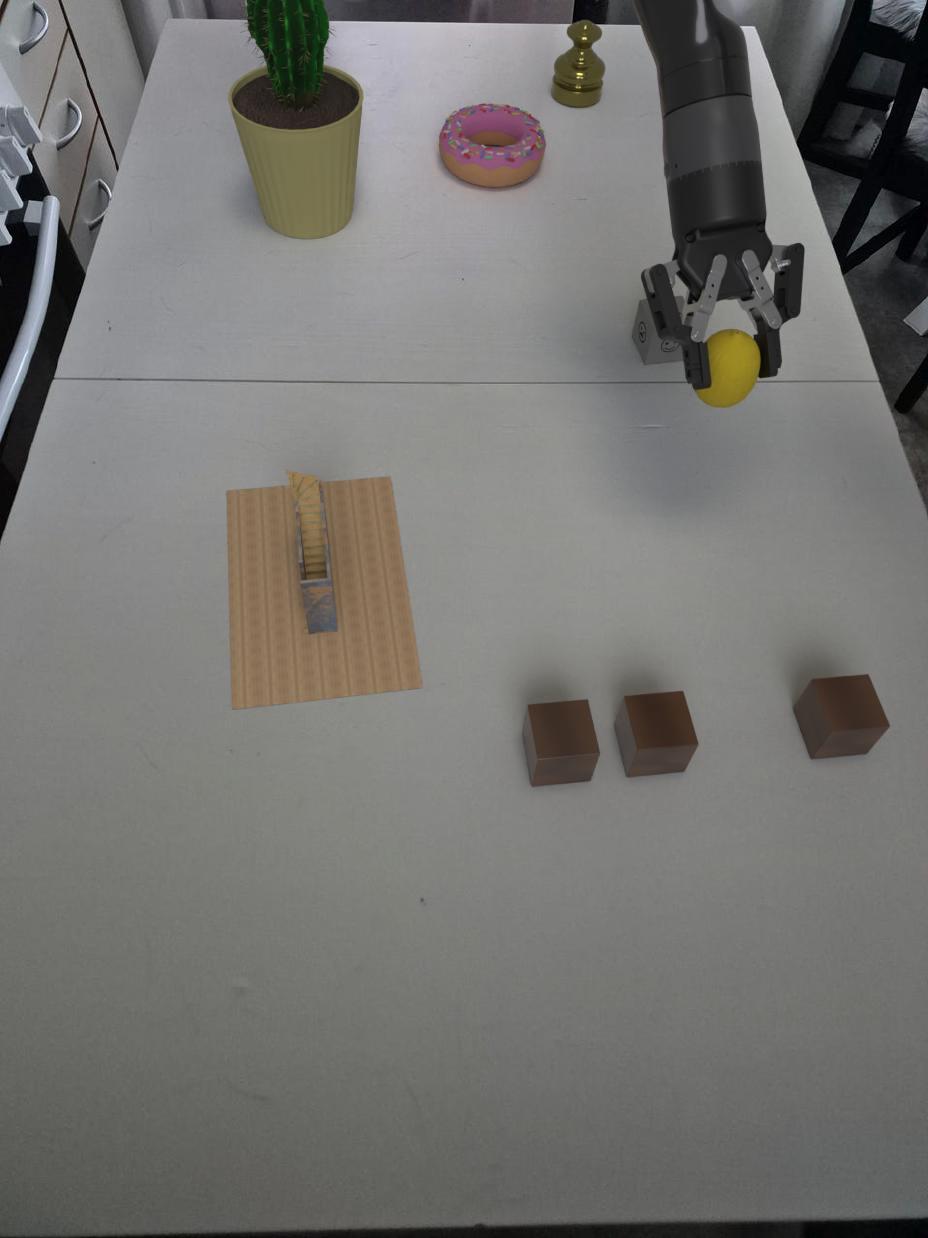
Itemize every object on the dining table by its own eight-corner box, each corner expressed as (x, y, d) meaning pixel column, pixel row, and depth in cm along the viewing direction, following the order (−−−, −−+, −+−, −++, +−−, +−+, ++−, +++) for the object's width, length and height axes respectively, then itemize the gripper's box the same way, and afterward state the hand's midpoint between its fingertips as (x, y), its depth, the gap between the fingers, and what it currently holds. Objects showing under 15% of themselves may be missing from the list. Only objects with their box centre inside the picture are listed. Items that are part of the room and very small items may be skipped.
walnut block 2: (670, 717, 83) (683, 688, 79) (684, 772, 80) (699, 744, 76) (613, 723, 83) (623, 693, 79) (626, 777, 80) (637, 750, 76)
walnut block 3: (846, 701, 85) (868, 672, 81) (867, 754, 82) (890, 726, 78) (791, 706, 84) (811, 677, 80) (810, 759, 81) (831, 732, 77)
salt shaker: (540, 93, 142) (548, 19, 134) (575, 77, 145) (584, 4, 137) (576, 113, 139) (586, 40, 131) (611, 97, 142) (623, 24, 134)
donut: (451, 197, 126) (453, 160, 122) (428, 139, 134) (428, 102, 130) (556, 186, 128) (561, 150, 124) (527, 129, 136) (531, 93, 132)
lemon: (701, 373, 88) (724, 301, 81) (755, 401, 86) (783, 329, 80) (671, 407, 85) (692, 335, 79) (726, 436, 84) (752, 365, 77)
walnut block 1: (579, 726, 82) (587, 697, 78) (591, 781, 79) (600, 754, 75) (521, 731, 82) (527, 702, 78) (531, 787, 79) (537, 760, 75)
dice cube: (644, 364, 109) (653, 328, 105) (631, 335, 112) (639, 299, 108) (686, 359, 110) (697, 323, 106) (672, 331, 112) (682, 295, 108)
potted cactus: (381, 186, 127) (371, -79, 102) (352, 256, 118) (335, -15, 93) (267, 170, 128) (230, -96, 103) (231, 239, 119) (181, -34, 94)
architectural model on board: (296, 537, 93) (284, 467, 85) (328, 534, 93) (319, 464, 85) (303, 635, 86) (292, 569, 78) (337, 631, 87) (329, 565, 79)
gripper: (649, 168, 73) (676, 395, 76) (819, 146, 75) (837, 366, 79) (612, 193, 80) (639, 399, 84) (768, 171, 83) (787, 372, 86)
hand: (735, 382), depth 81 cm, fingers closed on lemon, 5 cm apart
